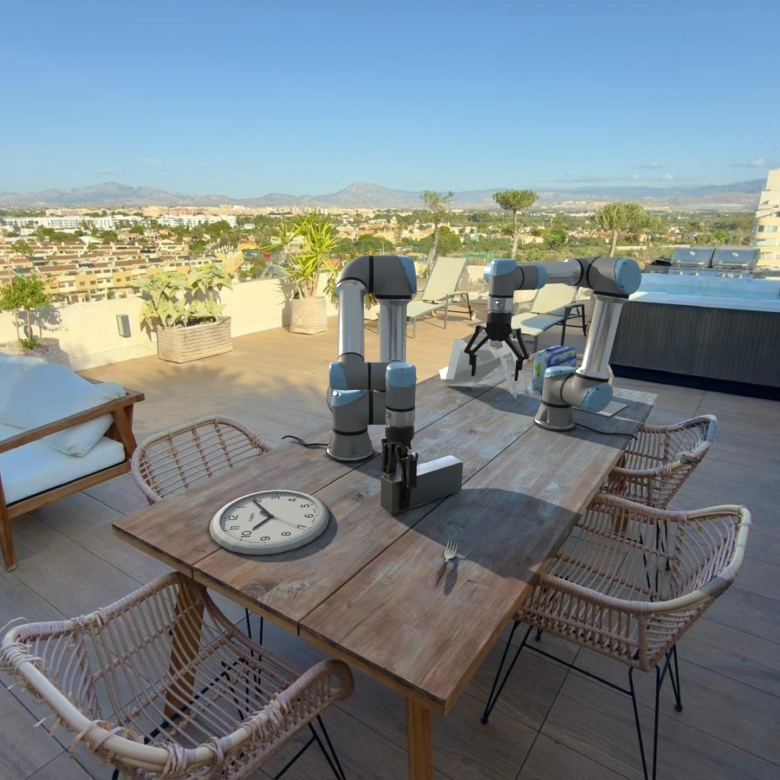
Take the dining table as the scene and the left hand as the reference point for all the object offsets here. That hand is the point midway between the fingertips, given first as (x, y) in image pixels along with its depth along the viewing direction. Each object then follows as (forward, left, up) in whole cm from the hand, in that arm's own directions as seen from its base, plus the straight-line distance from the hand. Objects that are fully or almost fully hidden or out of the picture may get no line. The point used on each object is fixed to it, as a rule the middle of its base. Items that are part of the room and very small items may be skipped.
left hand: (397, 503), depth 141 cm
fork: (+21, -16, -2) cm, 27 cm away
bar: (+4, +8, -1) cm, 8 cm away
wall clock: (-25, -22, -2) cm, 34 cm away
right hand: (+9, +46, +26) cm, 53 cm away
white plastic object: (-21, +112, -2) cm, 114 cm away
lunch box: (+7, +134, -2) cm, 134 cm away
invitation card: (+31, +122, -2) cm, 126 cm away
